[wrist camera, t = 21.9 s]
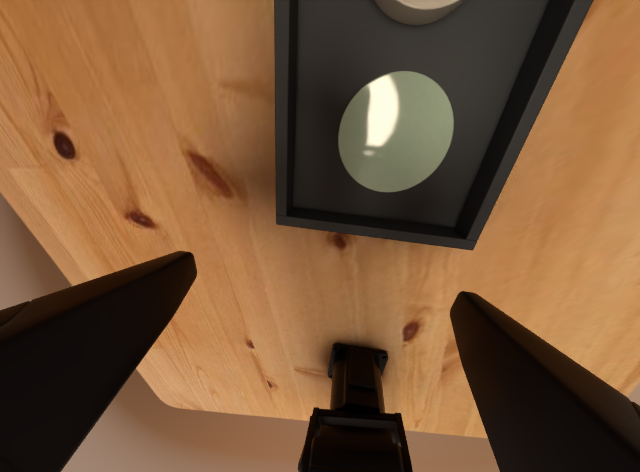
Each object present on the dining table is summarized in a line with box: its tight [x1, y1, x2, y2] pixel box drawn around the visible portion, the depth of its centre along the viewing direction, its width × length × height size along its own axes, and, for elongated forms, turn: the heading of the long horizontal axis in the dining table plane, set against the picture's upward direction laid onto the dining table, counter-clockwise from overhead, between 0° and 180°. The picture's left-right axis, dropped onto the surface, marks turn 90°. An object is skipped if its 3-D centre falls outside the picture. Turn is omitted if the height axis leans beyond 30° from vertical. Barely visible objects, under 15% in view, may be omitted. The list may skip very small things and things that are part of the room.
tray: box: [274, 0, 593, 250], centre depth 12 cm, size 24×15×3 cm, turn 175°
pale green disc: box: [338, 71, 454, 192], centre depth 14 cm, size 7×7×2 cm
